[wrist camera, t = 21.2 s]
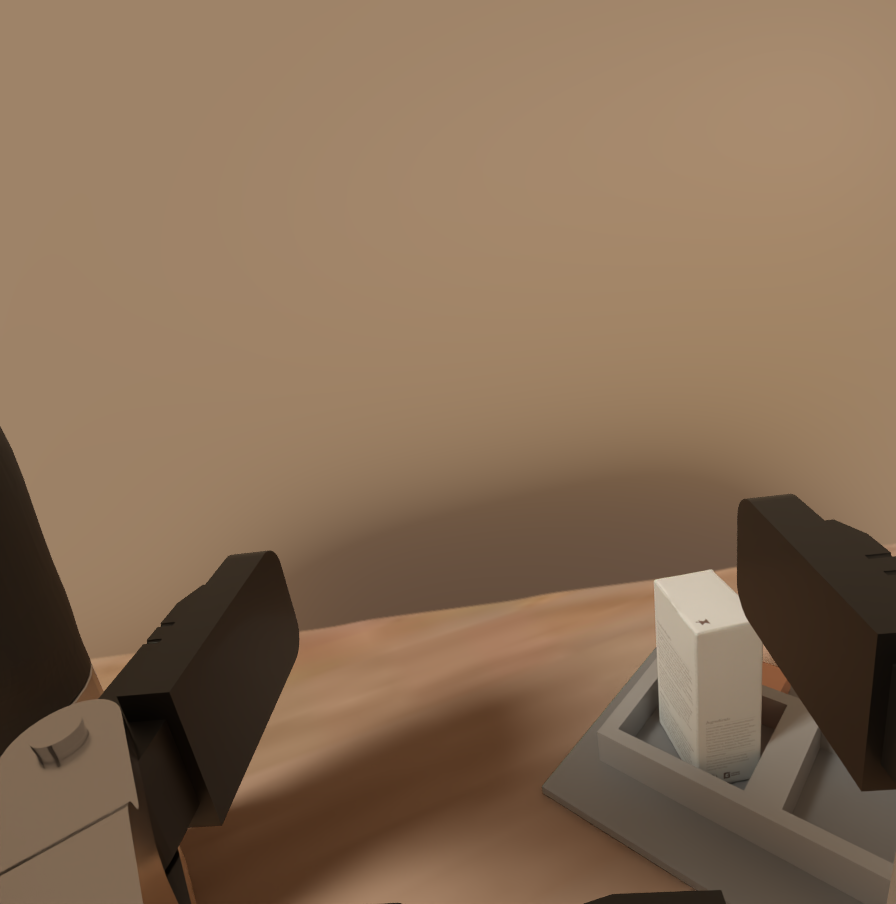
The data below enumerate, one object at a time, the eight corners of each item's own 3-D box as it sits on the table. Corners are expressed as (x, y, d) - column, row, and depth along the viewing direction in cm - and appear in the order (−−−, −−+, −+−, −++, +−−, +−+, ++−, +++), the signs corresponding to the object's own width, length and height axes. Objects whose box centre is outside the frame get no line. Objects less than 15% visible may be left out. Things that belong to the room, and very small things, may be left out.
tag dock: (542, 792, 40) (537, 757, 39) (663, 643, 52) (662, 613, 51) (1045, 1110, 24) (1060, 1064, 22) (1057, 786, 35) (1067, 746, 34)
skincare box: (763, 779, 38) (767, 620, 34) (697, 792, 38) (694, 634, 34) (714, 709, 44) (712, 566, 40) (657, 720, 43) (650, 578, 39)
